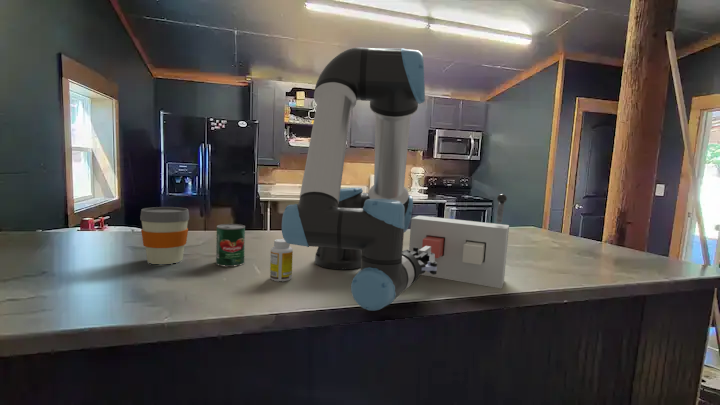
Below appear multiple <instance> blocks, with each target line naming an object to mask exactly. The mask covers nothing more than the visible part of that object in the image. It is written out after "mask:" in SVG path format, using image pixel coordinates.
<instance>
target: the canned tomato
mask: <svg viewBox="0 0 720 405" xmlns="http://www.w3.org/2000/svg"><path fill="white" fill-rule="evenodd" d="M245 239H246V225H243V224H240V223H239V224H238V223H223V224H218V225H216V243H215V244H216V252H215V254H216V255H215V256H216V258H215V264H216V265H217V264H219V265H225V266H234V265H240V264H243V263H244V264H245V250H246V249H245V242H246V240H245ZM244 264H243V265H244ZM219 265H218V266H219ZM240 266H241V265H240ZM234 267H235V266H234Z"/></svg>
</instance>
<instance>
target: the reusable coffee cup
mask: <svg viewBox="0 0 720 405" xmlns="http://www.w3.org/2000/svg"><path fill="white" fill-rule="evenodd" d="M139 217H140V218H139V219H140V221H141V226H142V229H141V230H140V231H141V239H142V244H143V247H144V248H145V253H146V260H147V263H148V262H149V263H152V264H171V263H176V262H179V261H181V260H182V261H183V258H184V252H185V251H184V250H185V245H186V244H187V241H188V240H187V239H188V233H189V228H188V224H189V220H190V211H189V209H188V208H187V207H177V206H175V207H174V206H159V207H158V206H156V207H155V206H154V207H144V208H142V209H141V210H140V216H139ZM182 261H181V262H182ZM149 263H148V264H149ZM176 264H177V263H176ZM171 265H172V264H171Z"/></svg>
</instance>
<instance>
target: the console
mask: <svg viewBox="0 0 720 405" xmlns="http://www.w3.org/2000/svg"><path fill="white" fill-rule="evenodd" d="M409 229H410V232H409V233H410V234H409V243H408V244H409V246H408V250H410V252H412V251H413V248H414V247H416V248H418V250H420V249H421V248H422V244H423V239H424V238H426V237H428V236H432V237H440V238H445V239H444V252H443V255H442V256H440V257H439V258H435V260H434V261H435V262H437V272H436V274H431V273H430V272H427V271H425V273H423V274H420V275H422V276H426V277H427V276H428V277H433V278H439V279H445V280H450V281H455V282H456V281H457V282H463V283H466V284H467V283H468V284H473V285H479V286H486V287H491V288H496V289H502V288H503V285H504V283H505V276H506V275H505V274H506V266H507V265H506V264H507V254H508V253H507V252H508V240H509V233H510V232H509V231H510V224H502V223H500V224H498V223H493V222H483V221H482V222H481V221H475V220H474V221H473V220H464V219H457V218H456V219H454V218H448V217H447V218H446V217H437V216H427V215H417V216H412V217H411V220H410V228H409ZM467 241H471V242H479V243H485V251H484V260H483V262H482V263H481V265H479V264H473V263H466V262H462V261H463V249H464V244H465V243H466V242H467ZM420 275H419V276H420Z"/></svg>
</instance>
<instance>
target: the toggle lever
mask: <svg viewBox="0 0 720 405" xmlns="http://www.w3.org/2000/svg"><path fill="white" fill-rule="evenodd" d="M496 200H497V211H496V216H495V222H496V224H502V223H503V216H504V209H505V203H506V202H507V201H508V198H507V195H505V194H504V193H501V194H498V195H497V197H496Z"/></svg>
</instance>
